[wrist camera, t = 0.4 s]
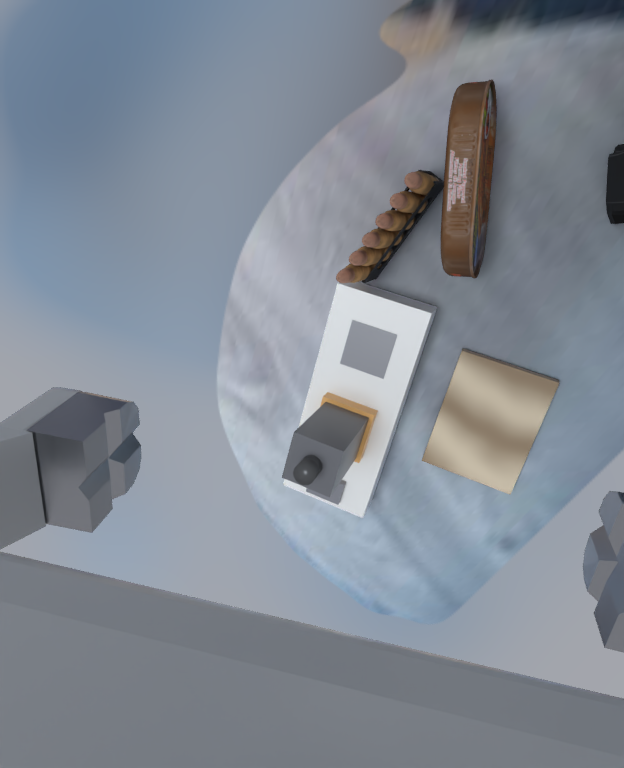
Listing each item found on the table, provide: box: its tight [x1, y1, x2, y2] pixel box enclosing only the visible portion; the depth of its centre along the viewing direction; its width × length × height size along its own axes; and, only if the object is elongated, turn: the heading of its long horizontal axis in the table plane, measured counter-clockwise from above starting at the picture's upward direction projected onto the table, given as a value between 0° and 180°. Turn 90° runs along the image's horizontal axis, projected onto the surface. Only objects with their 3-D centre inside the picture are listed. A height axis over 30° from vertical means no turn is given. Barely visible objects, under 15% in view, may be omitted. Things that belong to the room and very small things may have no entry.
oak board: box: [422, 349, 559, 494], centre depth 55 cm, size 12×9×1 cm
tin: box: [441, 80, 496, 278], centre depth 47 cm, size 15×3×8 cm, turn 179°
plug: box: [282, 392, 378, 497], centre depth 52 cm, size 5×5×15 cm
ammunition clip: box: [336, 170, 444, 283], centre depth 48 cm, size 11×2×12 cm, turn 144°
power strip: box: [283, 282, 437, 518], centre depth 57 cm, size 22×9×5 cm, turn 164°
